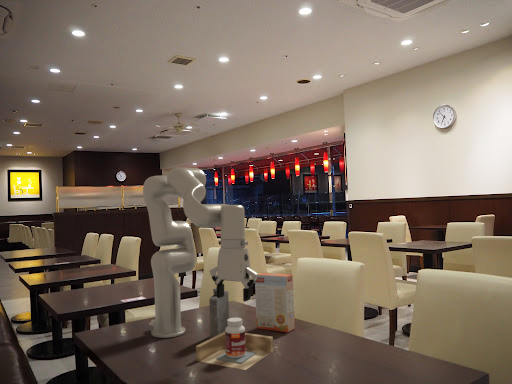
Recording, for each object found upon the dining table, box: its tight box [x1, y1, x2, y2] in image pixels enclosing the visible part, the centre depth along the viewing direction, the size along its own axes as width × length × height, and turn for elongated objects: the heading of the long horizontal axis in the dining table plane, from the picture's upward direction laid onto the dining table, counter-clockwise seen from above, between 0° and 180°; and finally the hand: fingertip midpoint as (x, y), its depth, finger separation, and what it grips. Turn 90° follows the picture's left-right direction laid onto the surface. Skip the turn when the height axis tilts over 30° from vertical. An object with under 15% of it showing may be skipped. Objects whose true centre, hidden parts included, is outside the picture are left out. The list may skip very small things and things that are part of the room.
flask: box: [208, 287, 230, 339], centre depth 151 cm, size 4×14×18 cm, turn 165°
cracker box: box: [254, 272, 296, 333], centre depth 162 cm, size 14×6×21 cm, turn 58°
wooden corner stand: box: [195, 332, 274, 371], centre depth 132 cm, size 18×18×5 cm
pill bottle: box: [225, 317, 246, 358], centre depth 131 cm, size 6×6×11 cm
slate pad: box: [216, 351, 256, 364], centre depth 131 cm, size 9×9×1 cm
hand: (233, 298), depth 132 cm, fingers open, 9 cm apart
